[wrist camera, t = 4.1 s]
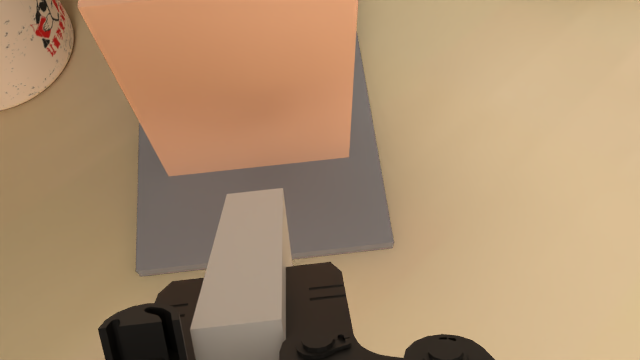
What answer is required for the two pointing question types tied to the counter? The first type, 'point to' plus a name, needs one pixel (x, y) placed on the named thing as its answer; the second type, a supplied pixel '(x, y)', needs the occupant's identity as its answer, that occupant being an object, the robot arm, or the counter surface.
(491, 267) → the counter surface
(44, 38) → the teacup with lid
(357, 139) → the mat
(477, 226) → the counter surface
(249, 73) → the peach box
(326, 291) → the robot arm
